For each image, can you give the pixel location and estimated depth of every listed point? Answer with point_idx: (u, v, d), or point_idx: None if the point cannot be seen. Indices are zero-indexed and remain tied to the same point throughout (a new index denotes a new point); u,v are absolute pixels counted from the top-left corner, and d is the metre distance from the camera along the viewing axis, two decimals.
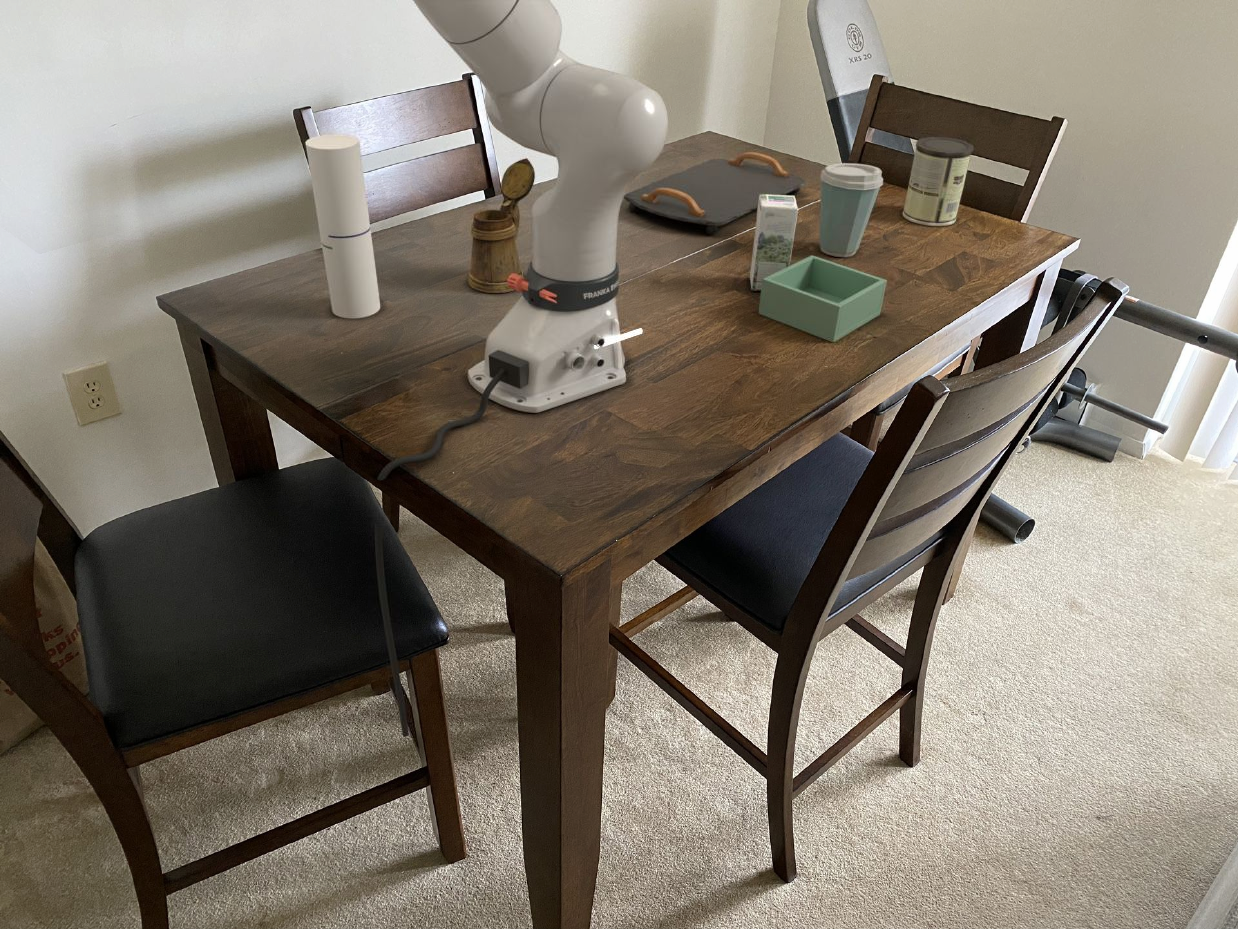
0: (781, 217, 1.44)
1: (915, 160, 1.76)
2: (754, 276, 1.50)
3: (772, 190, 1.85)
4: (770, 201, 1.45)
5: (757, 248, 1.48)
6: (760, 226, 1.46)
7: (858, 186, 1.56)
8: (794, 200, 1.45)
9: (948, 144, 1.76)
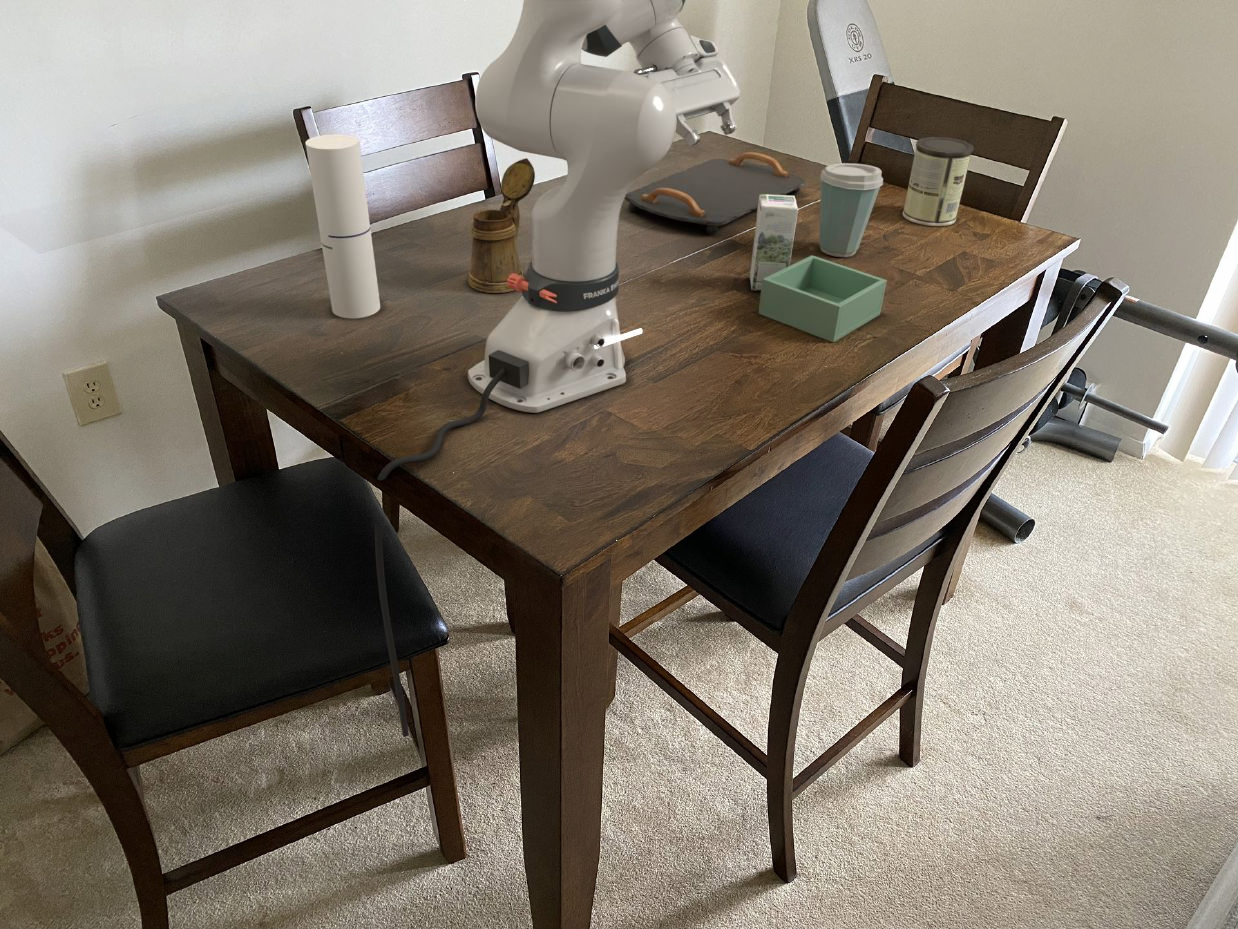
0: (781, 217, 1.44)
1: (915, 160, 1.76)
2: (754, 276, 1.50)
3: (772, 190, 1.85)
4: (770, 201, 1.45)
5: (757, 248, 1.48)
6: (760, 226, 1.46)
7: (858, 186, 1.56)
8: (794, 200, 1.45)
9: (948, 144, 1.76)
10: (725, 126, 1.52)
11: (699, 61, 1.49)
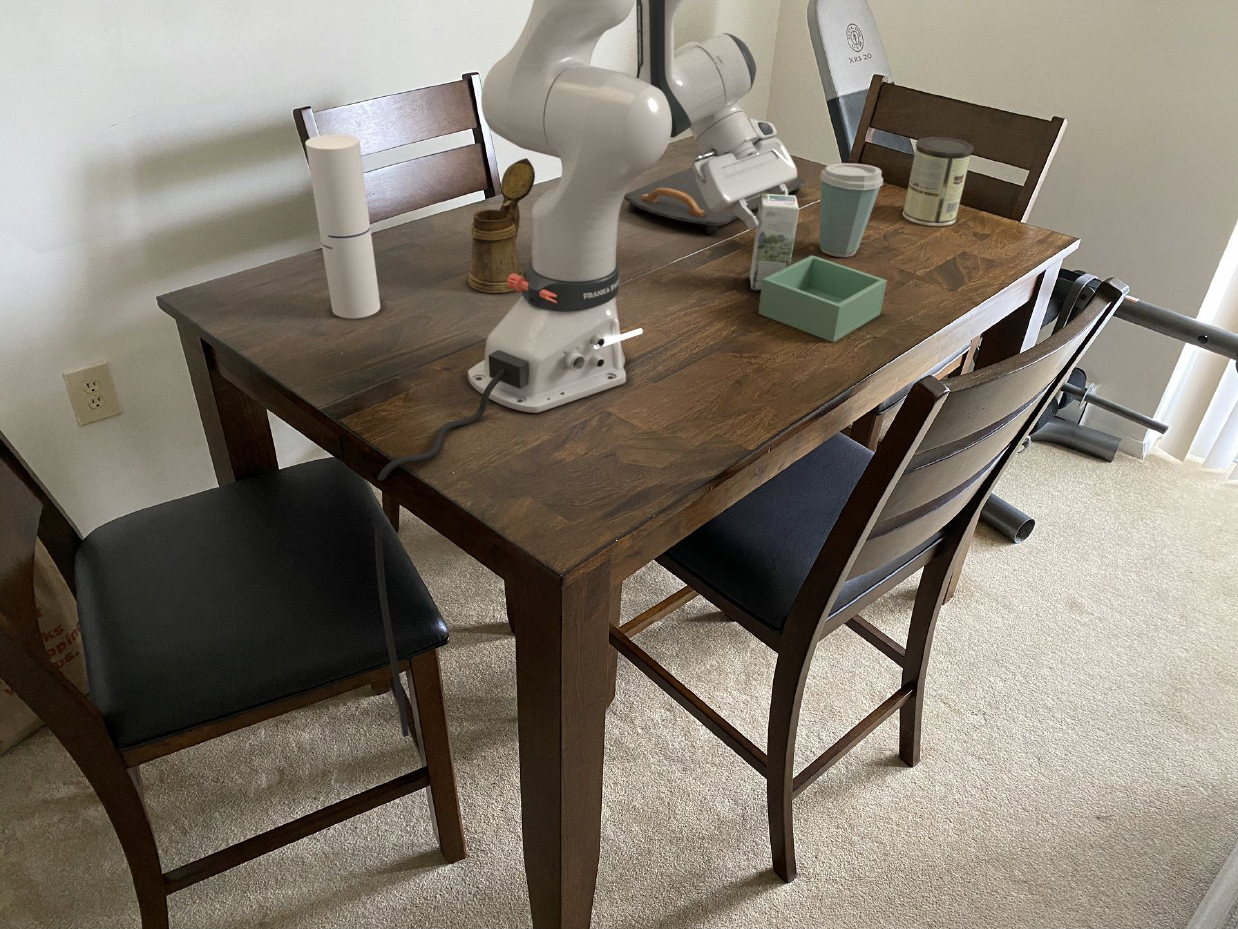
0: (782, 216, 1.44)
1: (915, 160, 1.76)
2: (754, 275, 1.50)
3: None
4: (771, 200, 1.45)
5: (758, 247, 1.48)
6: (761, 225, 1.46)
7: (858, 186, 1.56)
8: (795, 200, 1.46)
9: (948, 144, 1.76)
10: None
11: (758, 143, 1.48)
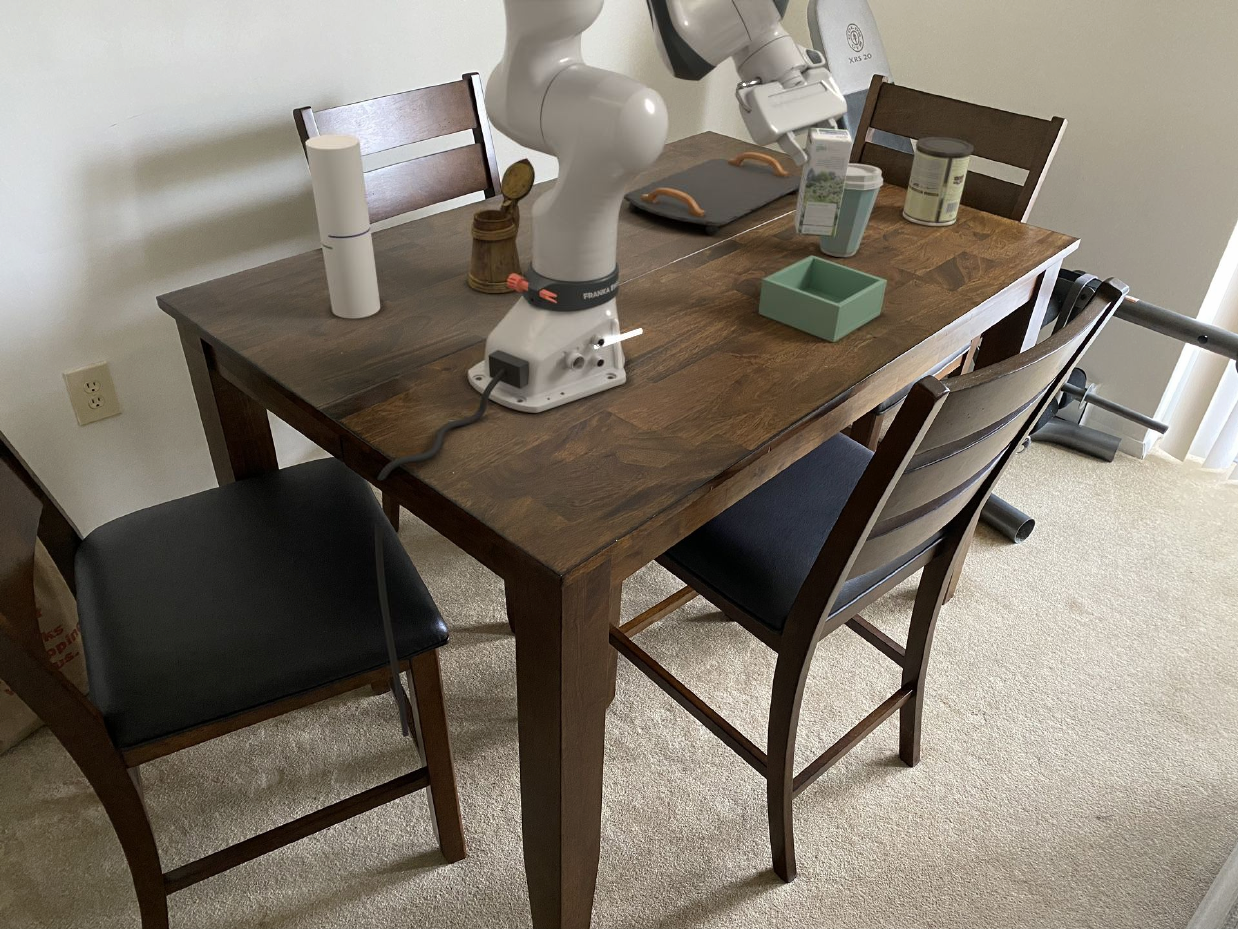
0: (834, 151, 1.32)
1: (915, 160, 1.76)
2: (801, 218, 1.38)
3: (772, 190, 1.85)
4: (821, 133, 1.32)
5: (805, 186, 1.35)
6: (810, 161, 1.33)
7: (858, 186, 1.56)
8: (847, 133, 1.33)
9: (948, 144, 1.76)
10: None
11: (805, 73, 1.35)
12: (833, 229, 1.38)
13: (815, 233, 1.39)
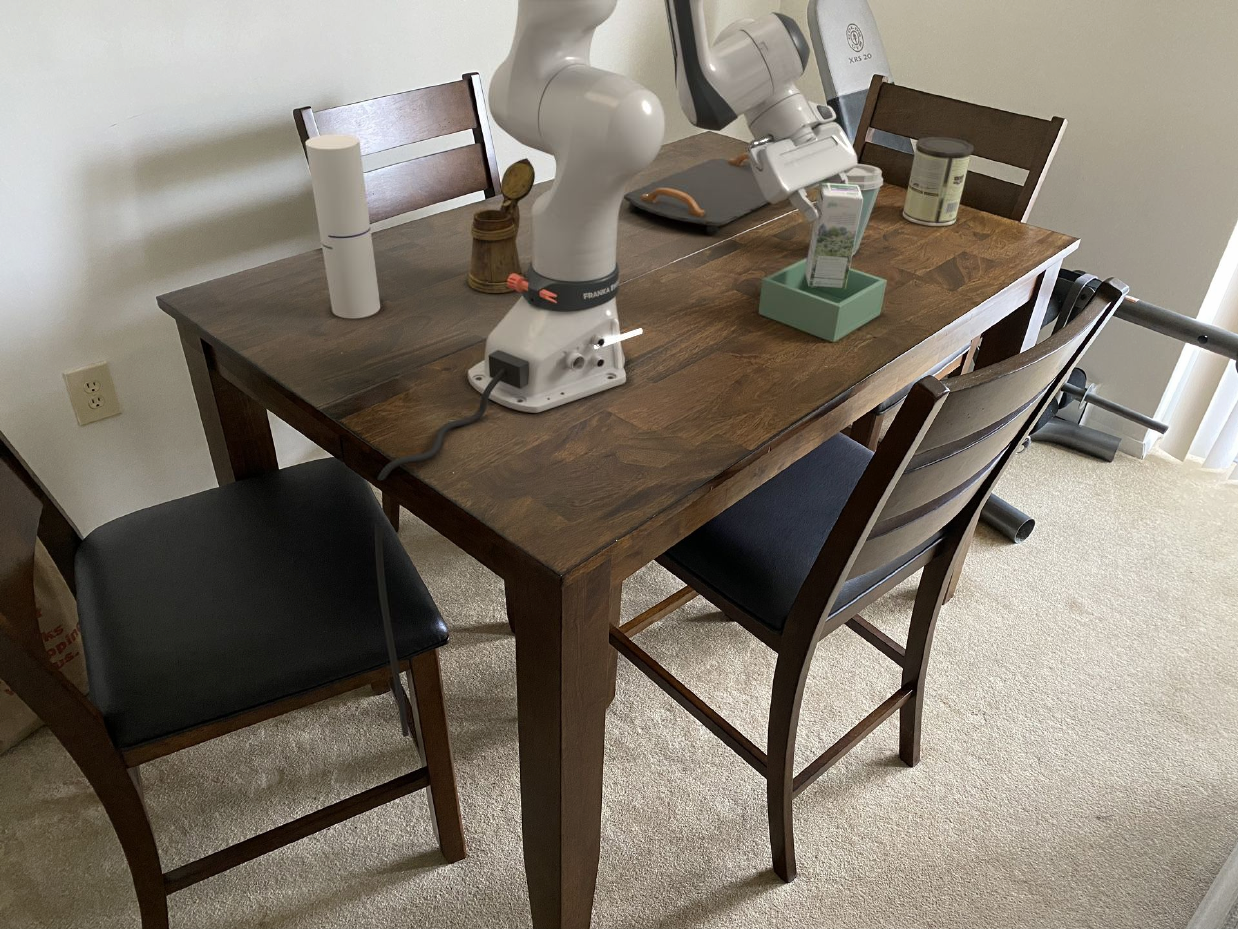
0: (845, 207, 1.33)
1: (915, 160, 1.76)
2: (812, 271, 1.39)
3: None
4: (832, 190, 1.34)
5: (817, 241, 1.36)
6: (821, 217, 1.34)
7: None
8: (858, 189, 1.34)
9: (948, 144, 1.76)
10: None
11: (816, 128, 1.37)
12: (844, 282, 1.40)
13: (826, 286, 1.40)
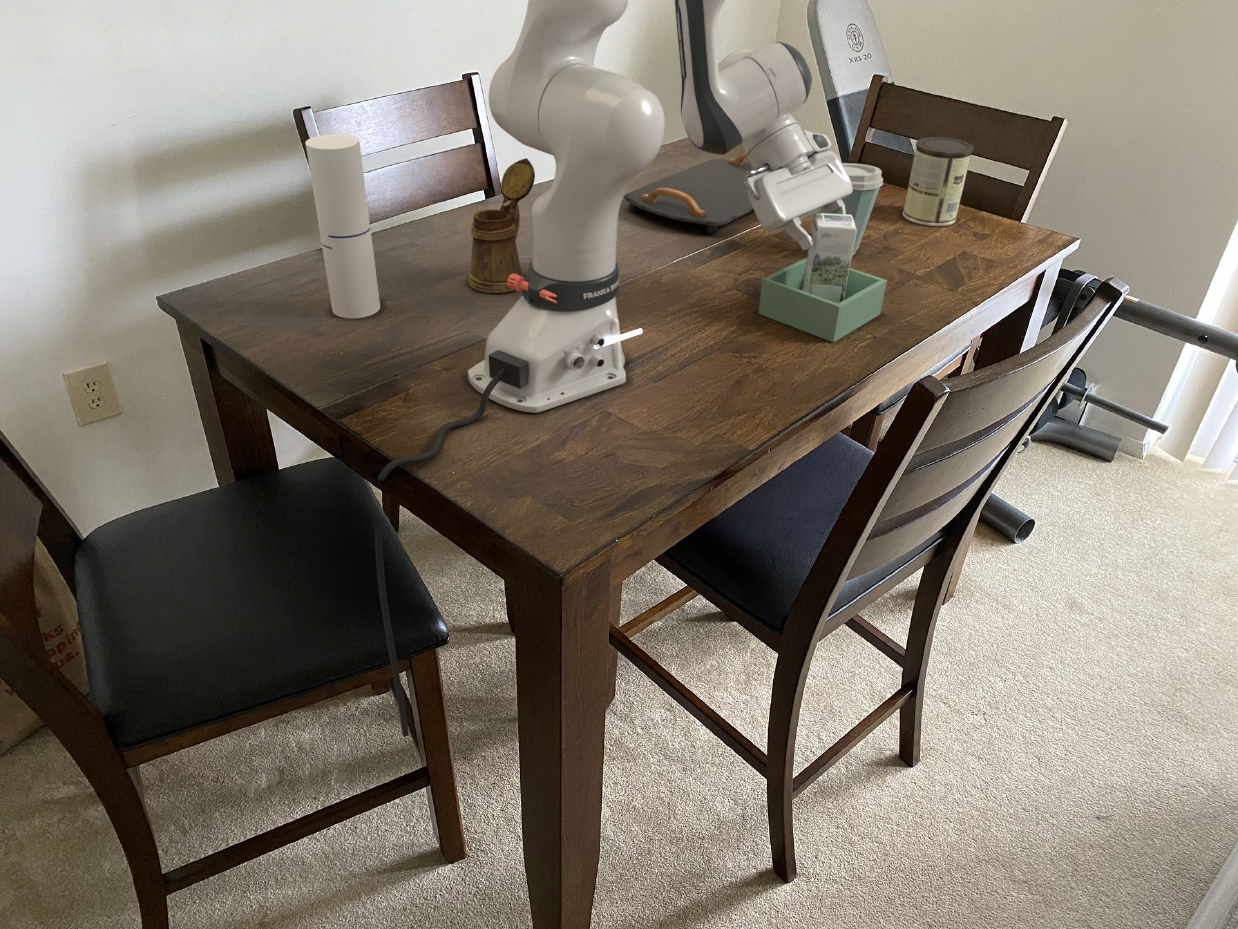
0: (838, 237, 1.36)
1: (915, 160, 1.76)
2: None
3: None
4: (826, 221, 1.36)
5: (811, 270, 1.39)
6: (815, 247, 1.37)
7: (858, 186, 1.56)
8: (852, 220, 1.37)
9: (948, 144, 1.76)
10: None
11: (812, 157, 1.39)
12: None
13: None
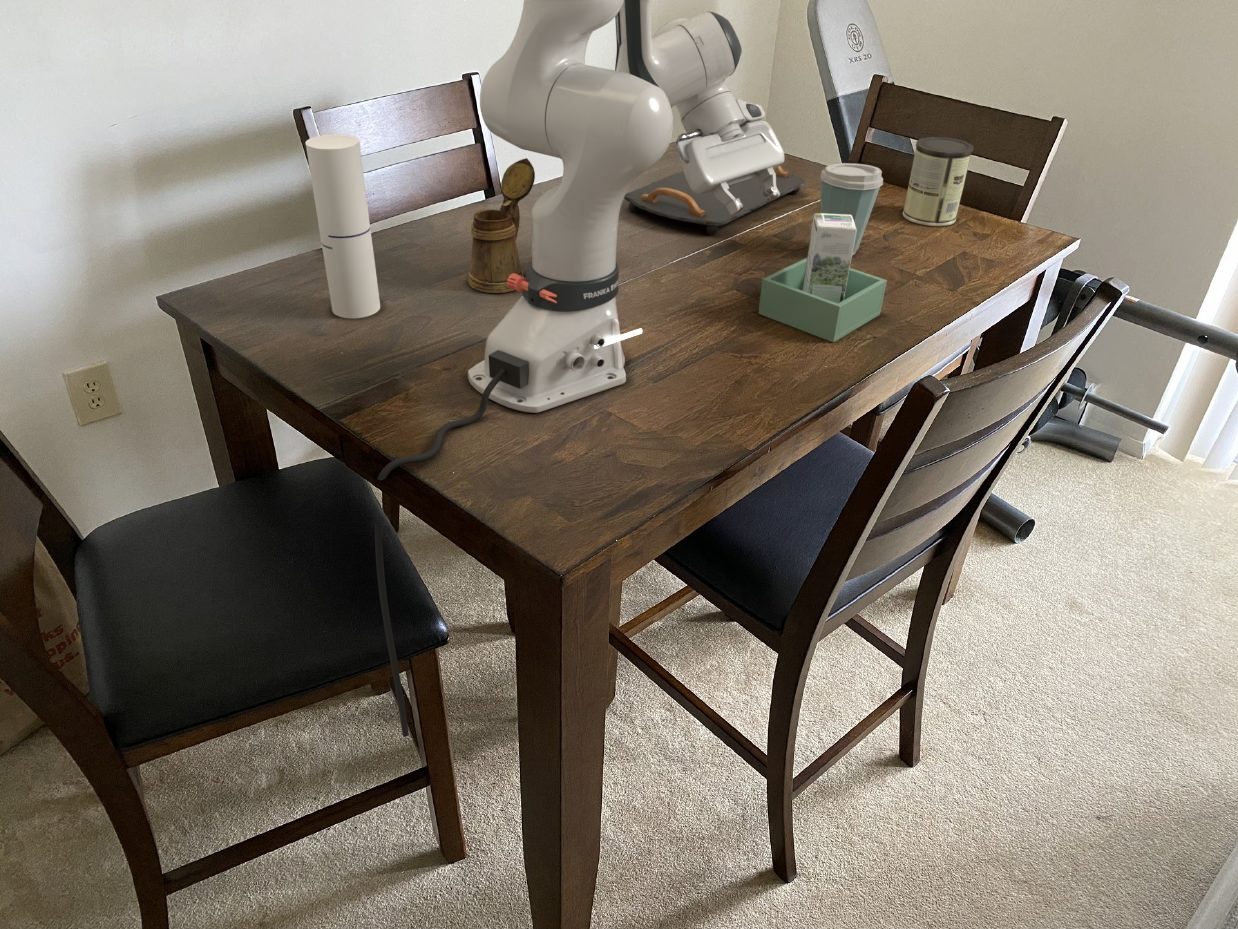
0: (838, 237, 1.36)
1: (915, 160, 1.76)
2: None
3: None
4: (826, 221, 1.36)
5: (811, 270, 1.39)
6: (815, 247, 1.37)
7: (858, 186, 1.56)
8: (852, 220, 1.37)
9: (948, 144, 1.76)
10: (768, 192, 1.48)
11: (745, 126, 1.45)
12: None
13: None
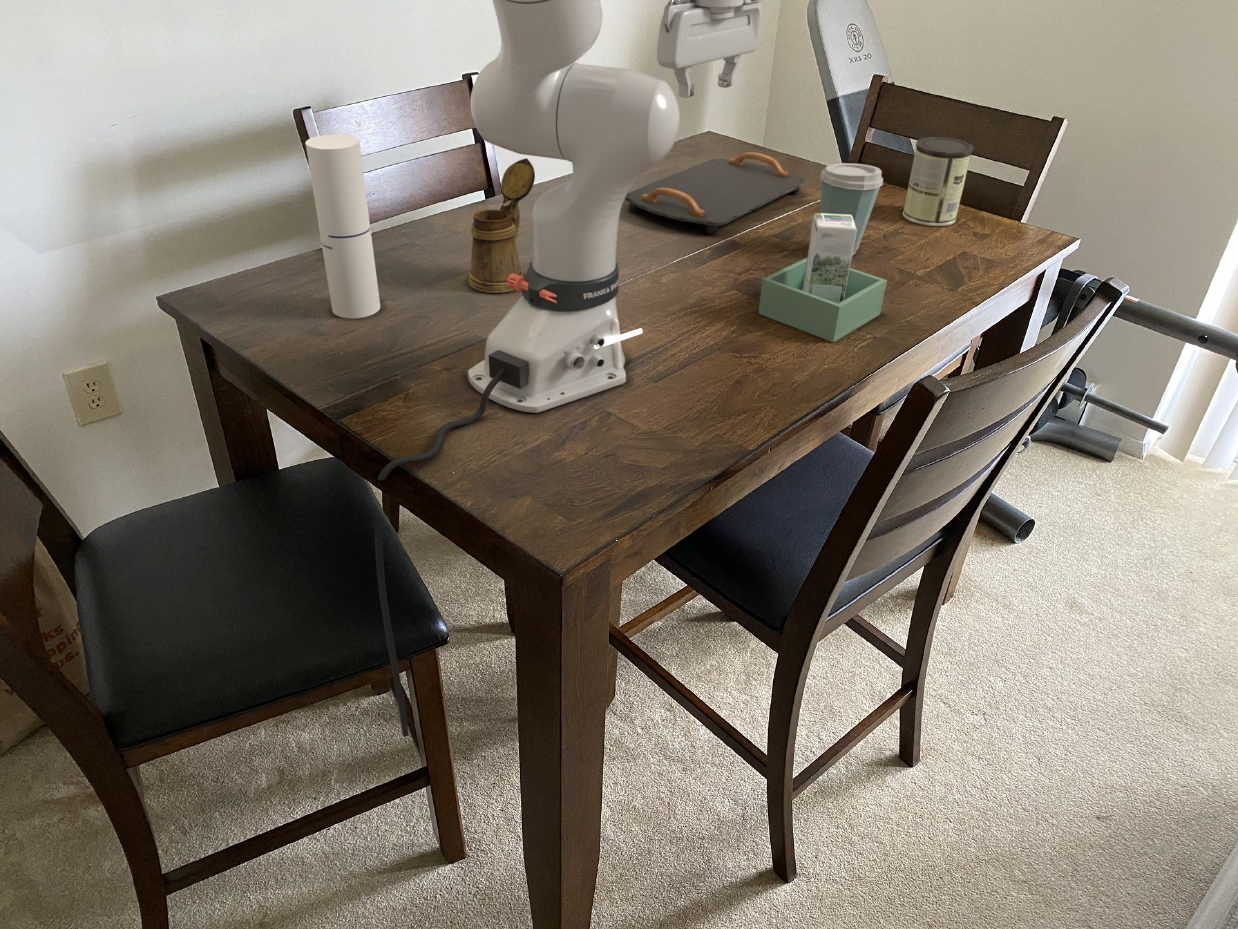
0: (838, 237, 1.36)
1: (915, 160, 1.76)
2: None
3: (772, 190, 1.85)
4: (826, 221, 1.36)
5: (811, 270, 1.39)
6: (815, 247, 1.37)
7: (858, 186, 1.56)
8: (852, 220, 1.37)
9: (948, 144, 1.76)
10: (723, 78, 1.43)
11: (739, 6, 1.35)
12: None
13: None
